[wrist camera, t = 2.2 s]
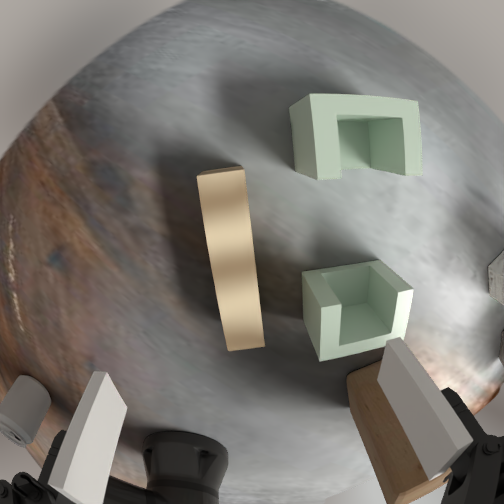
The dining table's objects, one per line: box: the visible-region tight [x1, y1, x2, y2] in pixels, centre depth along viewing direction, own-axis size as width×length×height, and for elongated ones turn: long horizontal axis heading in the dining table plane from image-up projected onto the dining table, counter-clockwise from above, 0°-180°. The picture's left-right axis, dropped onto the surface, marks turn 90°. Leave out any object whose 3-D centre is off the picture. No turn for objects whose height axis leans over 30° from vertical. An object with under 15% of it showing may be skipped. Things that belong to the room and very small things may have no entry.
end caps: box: [289, 94, 422, 361], centre depth 24 cm, size 22×9×7 cm, turn 6°
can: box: [0, 375, 51, 448], centre depth 28 cm, size 8×8×12 cm
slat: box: [197, 166, 265, 351], centre depth 25 cm, size 16×4×5 cm, turn 6°
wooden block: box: [346, 360, 452, 504], centre depth 27 cm, size 10×10×20 cm
